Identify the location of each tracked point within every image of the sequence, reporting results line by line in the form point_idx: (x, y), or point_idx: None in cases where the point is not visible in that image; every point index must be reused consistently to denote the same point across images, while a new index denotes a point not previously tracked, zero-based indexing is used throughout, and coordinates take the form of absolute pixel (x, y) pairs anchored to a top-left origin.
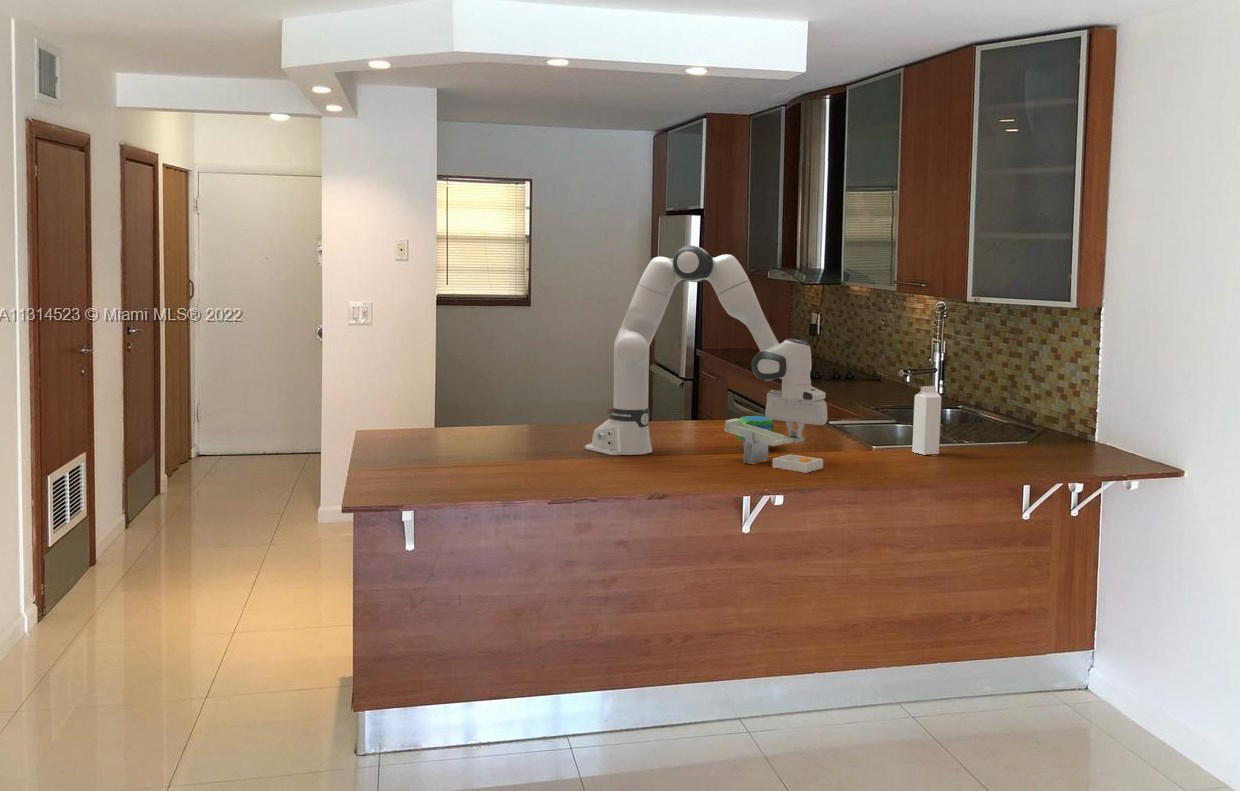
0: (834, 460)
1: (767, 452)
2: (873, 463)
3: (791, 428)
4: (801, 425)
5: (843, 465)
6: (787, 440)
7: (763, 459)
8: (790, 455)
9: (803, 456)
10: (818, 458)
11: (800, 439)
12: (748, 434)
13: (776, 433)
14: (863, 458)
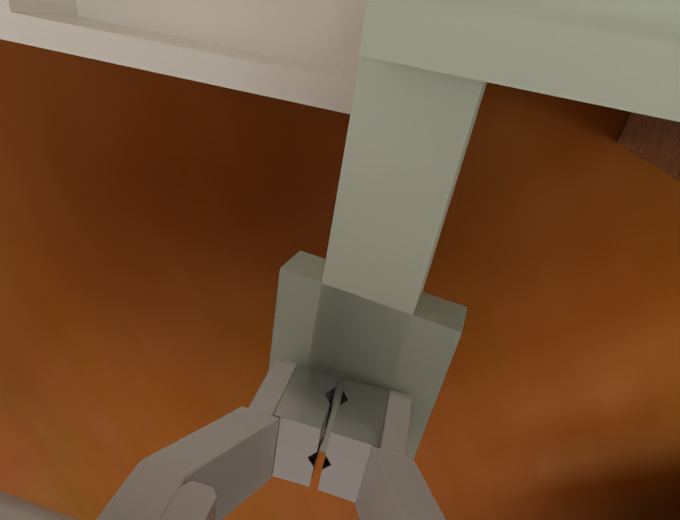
0: (179, 365)
1: (660, 148)
2: (5, 359)
3: (377, 501)
4: (129, 488)
5: (62, 246)
6: (350, 118)
7: None
8: (339, 78)
9: (189, 64)
10: (36, 42)
11: (274, 354)
12: None
13: (604, 34)
14: (107, 450)
